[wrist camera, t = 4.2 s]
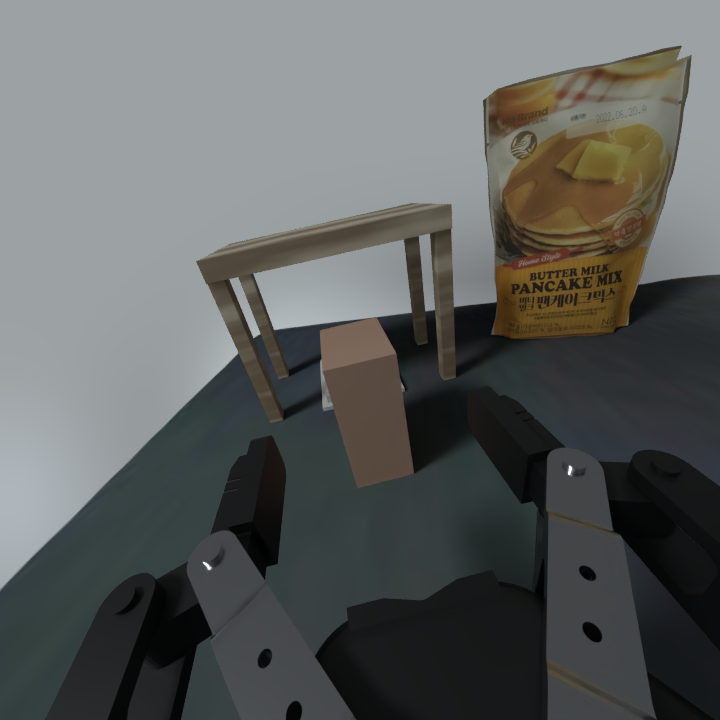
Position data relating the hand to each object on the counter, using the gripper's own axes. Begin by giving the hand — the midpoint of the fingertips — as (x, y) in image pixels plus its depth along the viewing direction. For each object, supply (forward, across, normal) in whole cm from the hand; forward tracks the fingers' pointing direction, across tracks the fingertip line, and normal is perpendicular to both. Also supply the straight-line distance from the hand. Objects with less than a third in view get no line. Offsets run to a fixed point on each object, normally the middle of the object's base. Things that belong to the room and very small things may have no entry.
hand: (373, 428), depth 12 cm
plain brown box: (+12, 0, +13) cm, 18 cm away
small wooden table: (+25, 0, +13) cm, 28 cm away
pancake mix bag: (+26, -29, +13) cm, 40 cm away
